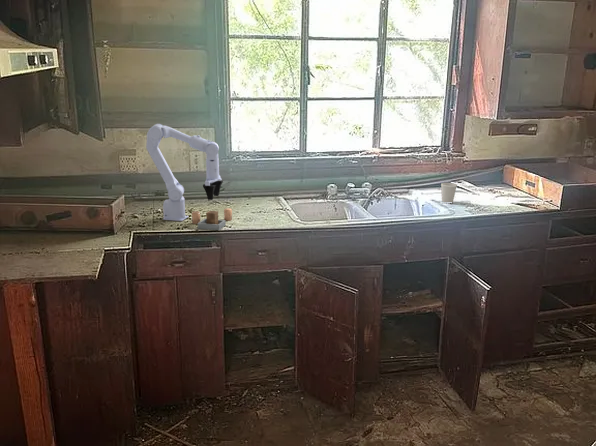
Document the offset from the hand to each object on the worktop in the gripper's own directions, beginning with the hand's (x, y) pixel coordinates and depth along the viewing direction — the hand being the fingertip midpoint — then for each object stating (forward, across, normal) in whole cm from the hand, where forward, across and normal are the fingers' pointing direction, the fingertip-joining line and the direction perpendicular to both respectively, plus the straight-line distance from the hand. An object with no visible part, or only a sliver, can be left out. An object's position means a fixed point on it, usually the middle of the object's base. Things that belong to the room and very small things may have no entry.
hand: (213, 197), depth 263 cm
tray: (+10, -13, -4) cm, 17 cm away
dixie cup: (+10, +64, -107) cm, 125 cm away
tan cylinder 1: (+10, -9, +5) cm, 14 cm away
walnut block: (+9, -13, -4) cm, 16 cm away
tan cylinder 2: (+10, 0, -7) cm, 12 cm away
